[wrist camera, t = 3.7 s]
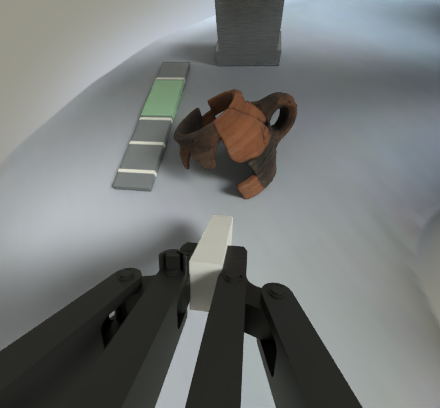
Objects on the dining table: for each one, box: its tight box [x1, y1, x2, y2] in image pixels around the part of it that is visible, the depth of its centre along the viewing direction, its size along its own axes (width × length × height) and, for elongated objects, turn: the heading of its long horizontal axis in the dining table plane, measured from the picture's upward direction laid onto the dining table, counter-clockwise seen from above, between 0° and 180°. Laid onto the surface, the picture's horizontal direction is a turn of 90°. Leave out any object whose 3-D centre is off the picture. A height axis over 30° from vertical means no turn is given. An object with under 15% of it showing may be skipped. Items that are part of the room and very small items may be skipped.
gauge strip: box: [113, 62, 190, 191], centre depth 28 cm, size 22×4×1 cm, turn 173°
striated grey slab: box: [215, 0, 284, 66], centre depth 30 cm, size 5×9×8 cm, turn 83°
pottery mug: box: [174, 89, 297, 199], centre depth 23 cm, size 12×10×8 cm
